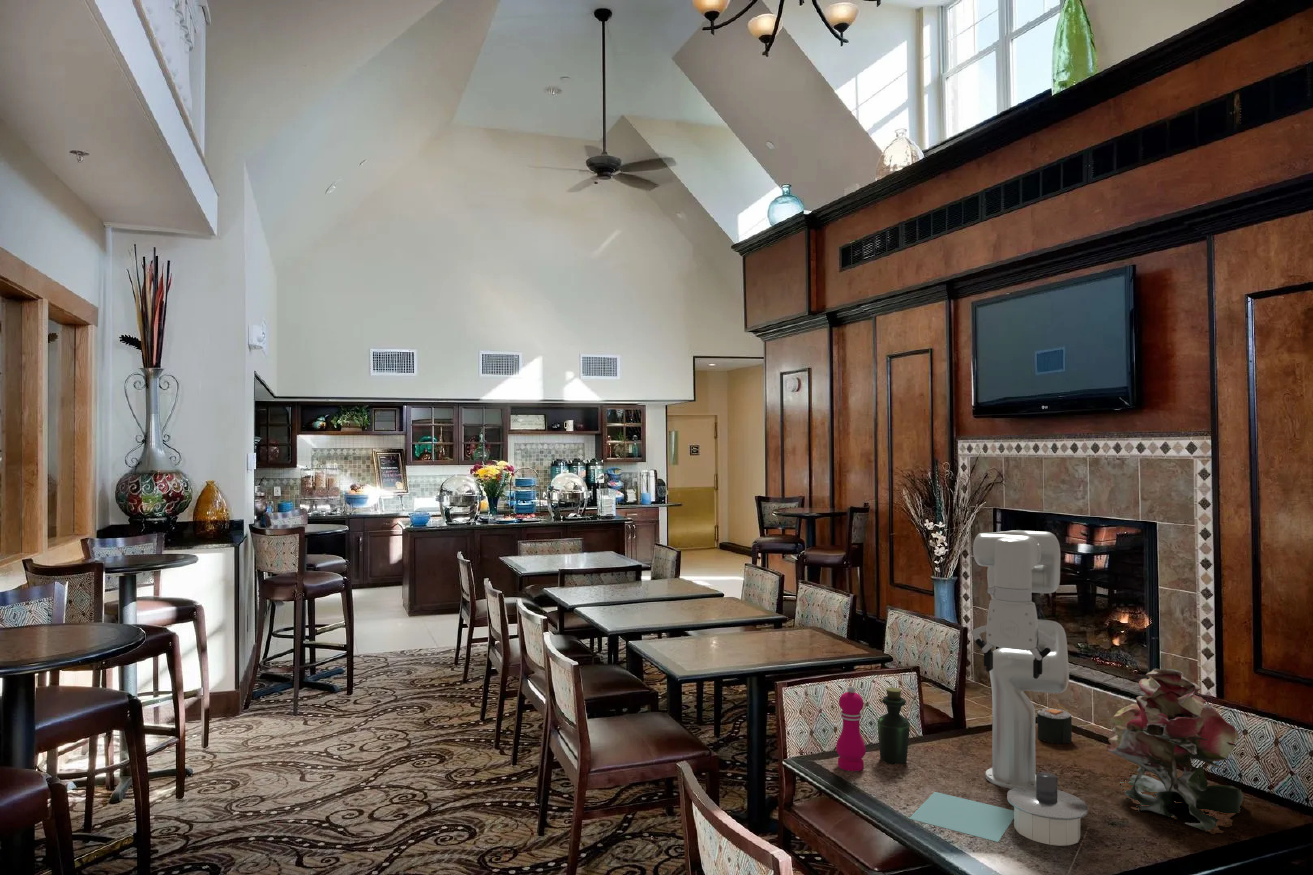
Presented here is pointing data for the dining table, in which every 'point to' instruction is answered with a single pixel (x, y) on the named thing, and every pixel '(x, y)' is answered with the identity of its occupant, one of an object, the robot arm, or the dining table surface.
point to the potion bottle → (893, 729)
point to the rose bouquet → (1175, 747)
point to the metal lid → (1047, 799)
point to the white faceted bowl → (1047, 829)
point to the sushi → (1054, 726)
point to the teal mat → (964, 816)
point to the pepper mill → (851, 732)
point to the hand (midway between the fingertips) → (1012, 673)
